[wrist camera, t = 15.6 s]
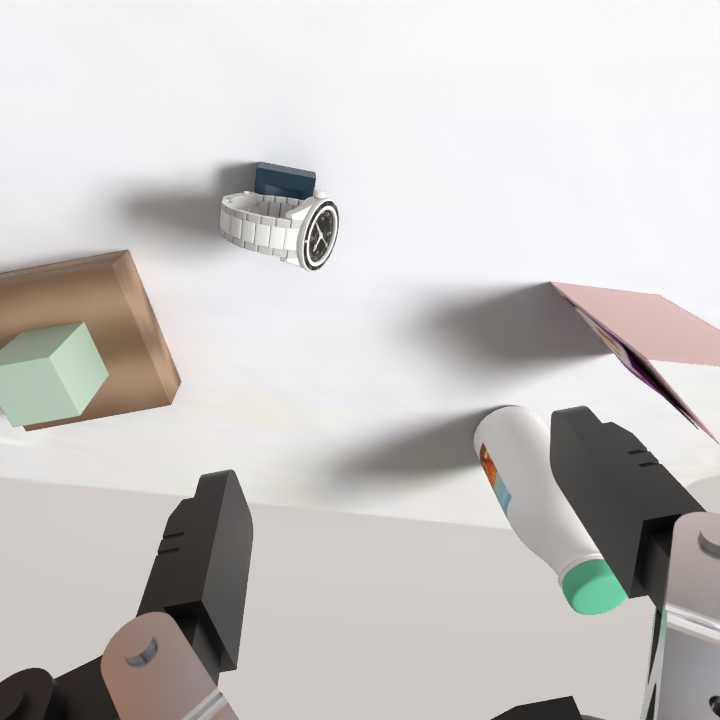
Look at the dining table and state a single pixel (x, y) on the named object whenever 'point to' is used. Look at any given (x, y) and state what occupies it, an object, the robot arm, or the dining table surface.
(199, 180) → the dining table surface
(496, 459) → the milk bottle
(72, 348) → the block
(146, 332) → the plinth
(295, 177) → the watch
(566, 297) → the greeting card
